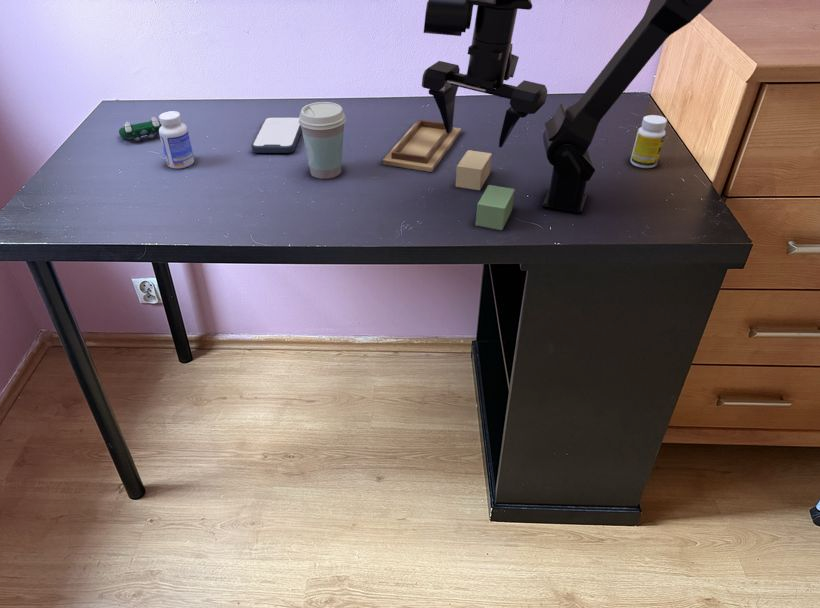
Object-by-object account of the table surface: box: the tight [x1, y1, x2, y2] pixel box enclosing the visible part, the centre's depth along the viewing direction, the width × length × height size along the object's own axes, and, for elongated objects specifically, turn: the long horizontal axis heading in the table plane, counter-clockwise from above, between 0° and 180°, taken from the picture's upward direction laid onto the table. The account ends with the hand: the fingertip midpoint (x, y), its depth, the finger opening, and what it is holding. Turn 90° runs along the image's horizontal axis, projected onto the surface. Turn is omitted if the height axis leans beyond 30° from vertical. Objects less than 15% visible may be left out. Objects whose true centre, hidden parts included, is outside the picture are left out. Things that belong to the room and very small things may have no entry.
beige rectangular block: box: [455, 149, 493, 191], centre depth 119 cm, size 7×4×4 cm, turn 157°
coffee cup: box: [298, 101, 347, 180], centre depth 121 cm, size 9×8×12 cm
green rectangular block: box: [475, 184, 516, 231], centre depth 109 cm, size 7×4×4 cm, turn 157°
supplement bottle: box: [629, 114, 668, 169], centre depth 121 cm, size 5×5×8 cm
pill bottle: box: [158, 110, 195, 170], centre depth 127 cm, size 5×5×10 cm
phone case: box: [251, 116, 302, 154], centre depth 137 cm, size 9×2×16 cm
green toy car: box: [118, 116, 162, 142], centre depth 139 cm, size 9×4×6 cm
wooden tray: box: [382, 119, 462, 173], centre depth 131 cm, size 19×10×2 cm, turn 157°
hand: (474, 139), depth 108 cm, fingers open, 9 cm apart
